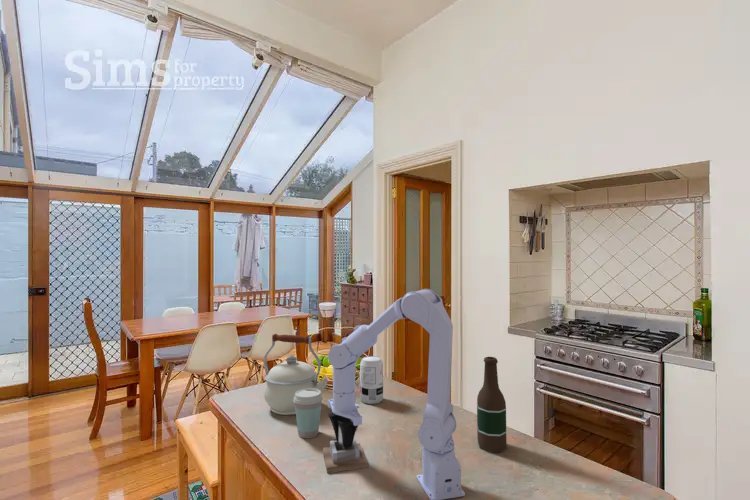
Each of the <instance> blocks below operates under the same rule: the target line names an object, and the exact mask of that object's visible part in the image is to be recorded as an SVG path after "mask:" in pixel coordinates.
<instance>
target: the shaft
mask: <svg viewBox="0 0 750 500" xmlns="http://www.w3.org/2000/svg"><path fill="white" fill-rule="evenodd" d="M348 449H351V447H348V448H344V446H343V441H342V433H341V429H340V426H339V437H338V451H340V450H348Z"/></svg>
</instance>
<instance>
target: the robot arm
mask: <svg viewBox="0 0 750 500" xmlns="http://www.w3.org/2000/svg"><path fill="white" fill-rule="evenodd" d="M406 318H407V319H409V320H410V321H413V322H414V323H416V324H418V325H420V326H421V327H422V328H423V329H424V330H426V332H427V333H428V334H429V341H428V342H429V345H428V347H429V348H428V366H427V367H428V372H427V373H428V374H427V395H426V396H427V397H426V398H427V399H426V406H425V408H424V412H423V415H422V423H421V426H420V427H419V429H418V434H417V435H418V439H419V442H420V444H421V446H422V447H421V451H422V452H421V453H422V454H421V461H422V462H421V464H422V465H421V466H422V469H421V470H422V472H421V474H416V479H417V481H418V482H419V484H420V486H421V487H422V489H423V491H424V493H425V494H426V495H427V497H428V499H429V500H448V499H455V498H462V497H465V496H466V492H465V491H464V490H463V489H462V468H461V467H462V466H461V464H460V463H459V461H458V460H457V459H458V458H457V457H456V452H455V442H454V438H453V434H454V433H455V432H456V429H457V419H456V417H455V414H454V406H453V404H452V403H451V390H452V388H451V387H452V386H451V385H452V382H451V381H452V365H453V364H452V362H453V361H452V360H453V359H452V358H453V334H454V333H453V332H454V326H453V322H452V320H451V317H450V316H449V314H448V312H447V310H446V307H445V306H444V304H443V299H442V297H440V296H439V294H437V293H436V292H435V291H433V290H432V289H430V288H423V289H420V290H416V291H409V292H407V293H406V294H404V296H403V297H400V298H399V299H396V300H395V301H394V302H393V303H392V304H390V305H389V306H388V307H387V308H386V309H385V310H384V311H383V312H381V314H380V315H378V316H377V317H376V318H375V319H374V320H373V321H372V322H371V323H370V324H369V325H368V324H362V325H360V324H358V325H356V326H355V327H354V328H353V332H352V333H350V334H349V335H348V336H347V337H346V336H345V337H343V338H341V343H339V344H334V345H332V347H331V348H330V349H329V351H328V355H327V356H328V362H329V363H330V365H331V366H332V398H330V399H329V398H328V399H327V408H329V409H331V411H332V412H329V413H328V414H327V415H328V418H329V421H330V422H331V425H332V427H333V431H334V435H335V440H337V442H338V437H339V426H340V429H341V433H342V441H343V446H344V448H348V447H351V446H352V444H353V439H354V438H355V435H356V432H357V430H358V427H359V426H360V425H363V416H362V415H361V414H360V412H359V410H358V409H359V408H360V405H359V404H358V403H356V364H357V362H358V360H359V358H360V357H361V356H362V355H364V354H365V353H366V352H368V351H369V350H370V348H372V347H373V346H374V345H376V344H377V342H378V336H379V335H380V334H381V333H382V332H383V331H385V330H387V329H388V328H389V327H390V326H392V325H394V324H395V323H396V322H398V321H399V320H405V319H406Z"/></svg>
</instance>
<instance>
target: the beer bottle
mask: <svg viewBox="0 0 750 500" xmlns="http://www.w3.org/2000/svg"><path fill="white" fill-rule="evenodd" d="M483 362H484V369H483V370H484V373H483V375H484V376H483V383H482V384H483V385H482V387H481V389H479V391H478V395H477V398H476V422H477V423H476V431H477V433H476V435H477V436H476V437H477V444H478V447H479V449H481V450H483V451H485V452H486V453H494V454H499V453H501V452H504V451H506V449H507V406H506V405H507V404H506V399H505V397H504V394H503V392H502V390H501V389H500V385H499V376H498V363H499V362H498V358H496V357H495V356H486V357H485V356H484V359H483Z"/></svg>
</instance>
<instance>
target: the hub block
mask: <svg viewBox="0 0 750 500" xmlns="http://www.w3.org/2000/svg"><path fill="white" fill-rule="evenodd" d="M322 455H323V460H324V464H325V465H324V466H325V469H326V470H325V471H326V473H327V474H328V473H336V472H344V471H351V470H359V469H364V468H368V464H369V462H368V459H367V458H366V455H365V453H364V451H363V448H362V446H361V443H357V441H356V438H355V437H354V439H353V444H352V446H351V449H348V450H340V451H338V442H337V440H336V439H335V440H330V441H329V446H327V447H326V446H325V447H322Z"/></svg>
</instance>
